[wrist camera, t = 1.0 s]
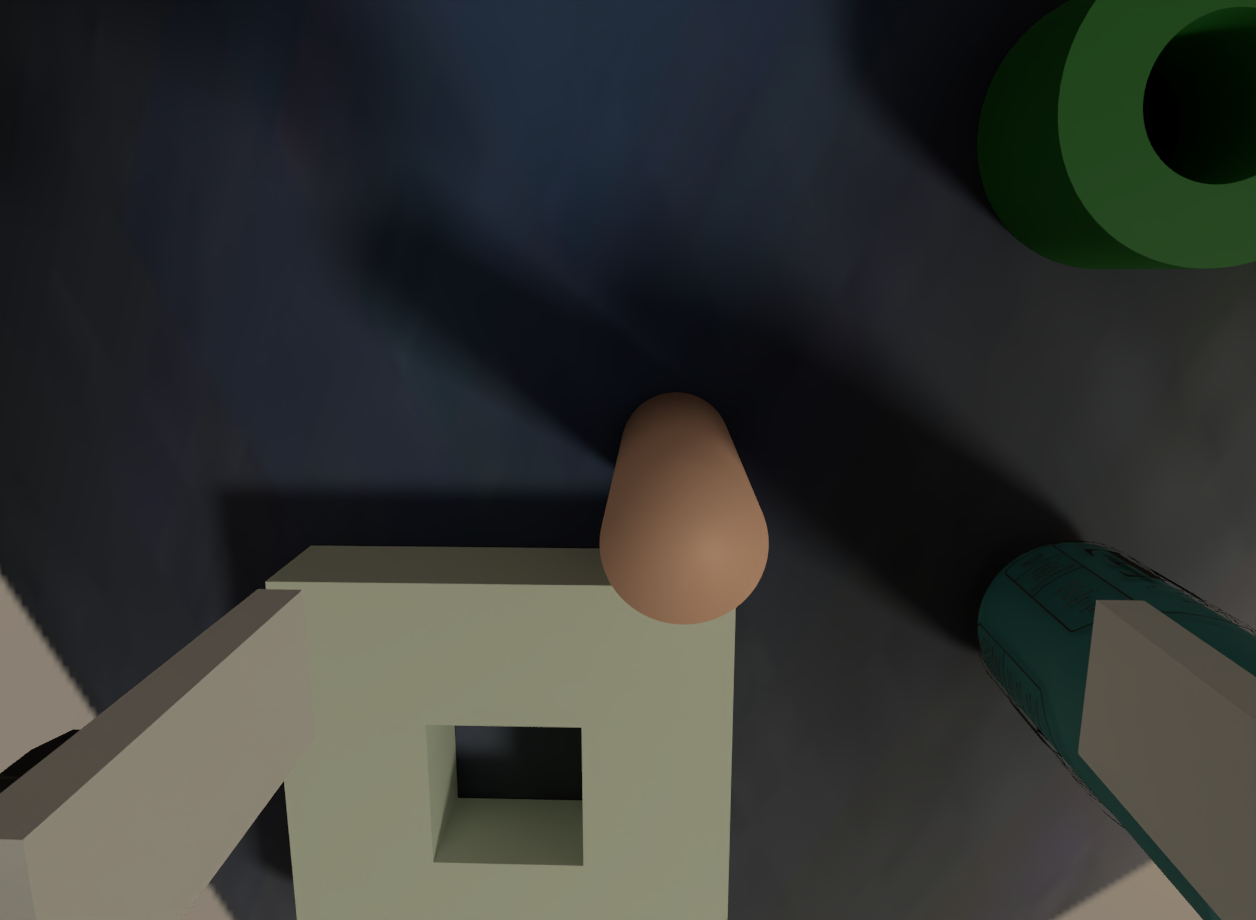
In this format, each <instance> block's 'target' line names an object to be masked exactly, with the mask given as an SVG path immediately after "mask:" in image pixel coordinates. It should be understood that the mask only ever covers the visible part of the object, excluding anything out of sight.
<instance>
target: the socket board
mask: <svg viewBox="0 0 1256 920" xmlns="http://www.w3.org/2000/svg"><path fill="white" fill-rule="evenodd" d="M265 584H266V589H285V590H303V600H304V612H305V624H306V636H307V648H308V660H309V672H310V684H311V696H312V708H313V720H314V732H315V739H314V741H313V742H312V743H311V745H310V746H309V748H308V749H307V750H306V752H305V753H304V754H303V756H302V757H301V758H300V760H299V761H298V762H297V764H296V765H295V767H294V768H293V769H292V771H291V772H290V773H289V775H288V776H287V777H286V779H285V780H284V786H285V797H286V807H287V818H288V829H289V839H290V850H291V861H292V871H293V882H294V892H295V903H296V914H297V920H727V914H728V876H729V838H730V800H731V762H732V724H733V685H734V647H735V609H736V608H735V609H733V610H732V611H730V612H728V613H727V614H725V615H723V616H721V617H718V618H716V619H713V620H710V621H707V622H703V623H697V624H685V625H681V624H670V623H665V622H661V621H658V620H655V619H652V618H649V617H647V616H645V615H643V614H641V613H640V612H638V611H636V610H635V609H633V608H632V607H631V606H630V605H628V604H627V603H626V602H625V601H624V600H623V599H622V598H621V597H620V596H619V595H618V594H617V592H616V591H615V590H614V588H613V587H612V585H611V584H610V582H609V580H608V578H607V576H606V574H605V571H604V568H603V565H602V561H601V556H600V548H502V547H403V546H310V547H308V548H307V549H306V550H305V551H303V552H302V553H301V554H300V555H298V556H297V557H296V558H295V559H293V560H292V561H291V562H289V563H288V564H287V565H286V566H284V567H283V568H282V569H281V570H279V571H278V572H277V573H276V574H274V575H273V576H272V577H270V578H269V579H268V580H267V581H265ZM454 725H464V726H521V727H579V728H582V798H583V800H534V799H486V798H458V790H457V769H456V748H455V727H454Z"/></svg>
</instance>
